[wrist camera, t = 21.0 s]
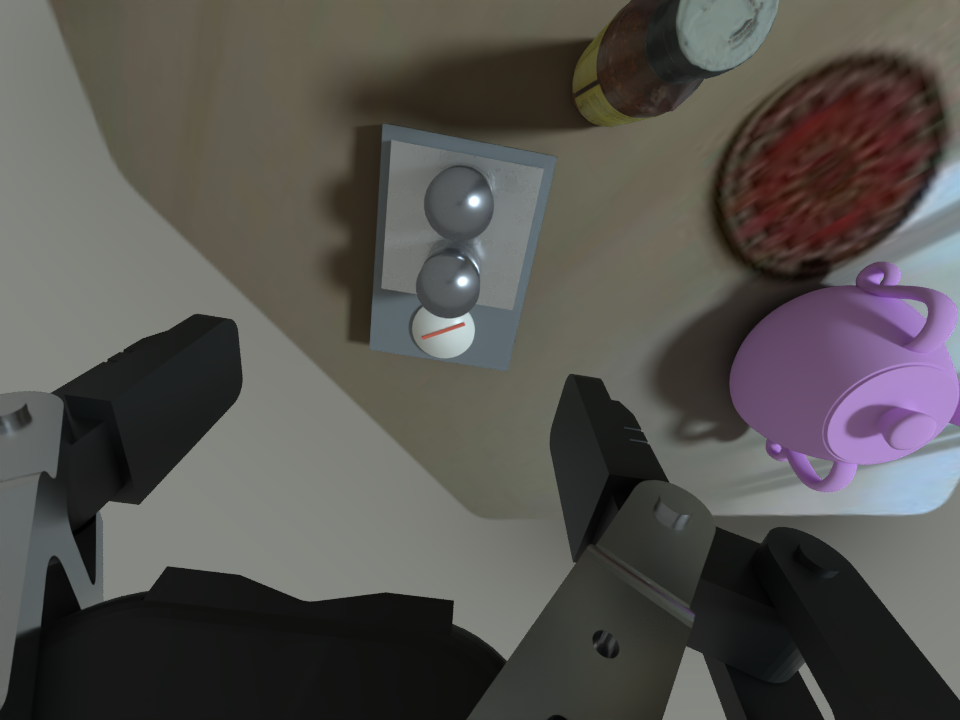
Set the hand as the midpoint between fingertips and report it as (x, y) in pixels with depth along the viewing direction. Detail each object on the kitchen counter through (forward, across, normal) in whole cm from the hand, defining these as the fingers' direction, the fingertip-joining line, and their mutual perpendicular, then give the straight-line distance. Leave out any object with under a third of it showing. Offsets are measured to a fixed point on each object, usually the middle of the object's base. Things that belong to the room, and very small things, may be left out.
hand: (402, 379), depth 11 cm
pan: (+29, 0, +2) cm, 29 cm away
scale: (+32, 0, +5) cm, 32 cm away
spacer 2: (+28, 0, +5) cm, 28 cm away
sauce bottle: (+32, -10, -11) cm, 36 cm away
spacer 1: (+28, 0, -1) cm, 28 cm away
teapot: (+32, -40, +9) cm, 52 cm away
